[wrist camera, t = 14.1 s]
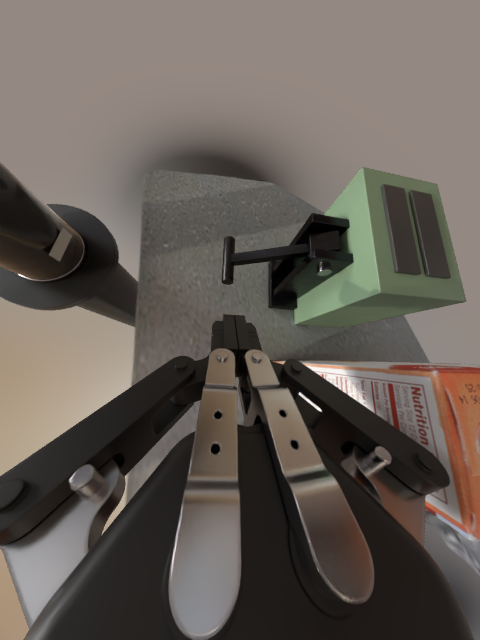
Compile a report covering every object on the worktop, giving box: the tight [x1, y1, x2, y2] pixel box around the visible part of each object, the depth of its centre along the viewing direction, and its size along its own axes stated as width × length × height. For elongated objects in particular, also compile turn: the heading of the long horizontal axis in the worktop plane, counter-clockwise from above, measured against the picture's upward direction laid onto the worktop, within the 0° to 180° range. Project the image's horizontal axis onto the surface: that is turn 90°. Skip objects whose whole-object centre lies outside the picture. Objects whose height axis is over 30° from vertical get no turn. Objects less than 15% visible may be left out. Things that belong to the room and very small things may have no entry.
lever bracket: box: [269, 213, 354, 310], centre depth 23 cm, size 5×8×13 cm, turn 178°
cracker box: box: [273, 361, 480, 541], centre depth 17 cm, size 14×6×21 cm, turn 88°
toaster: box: [294, 167, 466, 328], centre depth 23 cm, size 9×13×15 cm
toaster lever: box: [222, 230, 340, 285], centre depth 20 cm, size 13×6×2 cm, turn 88°
